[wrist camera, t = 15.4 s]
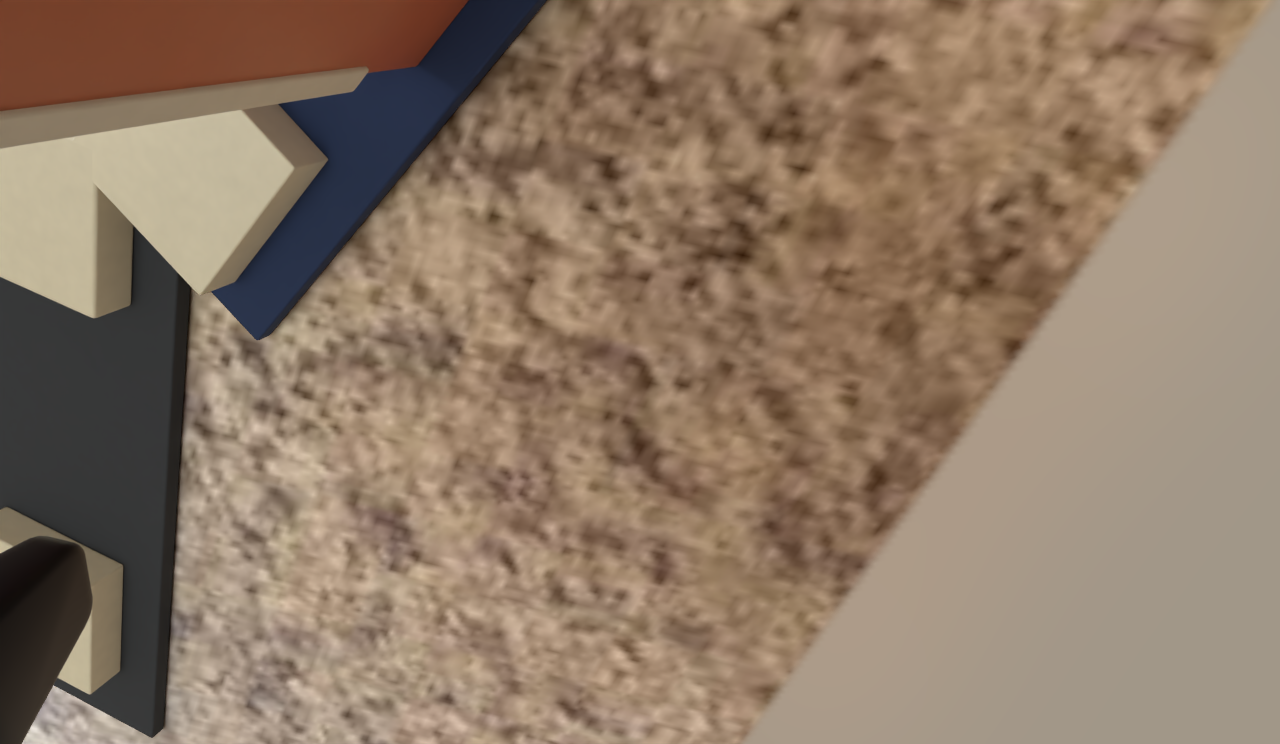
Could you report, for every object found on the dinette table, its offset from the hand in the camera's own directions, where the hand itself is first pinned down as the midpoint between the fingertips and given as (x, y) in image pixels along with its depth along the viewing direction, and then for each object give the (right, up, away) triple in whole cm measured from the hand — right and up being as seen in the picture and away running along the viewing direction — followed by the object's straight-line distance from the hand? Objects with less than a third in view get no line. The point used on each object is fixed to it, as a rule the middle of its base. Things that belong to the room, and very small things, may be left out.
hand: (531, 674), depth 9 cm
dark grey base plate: (-15, +2, +17) cm, 23 cm away
